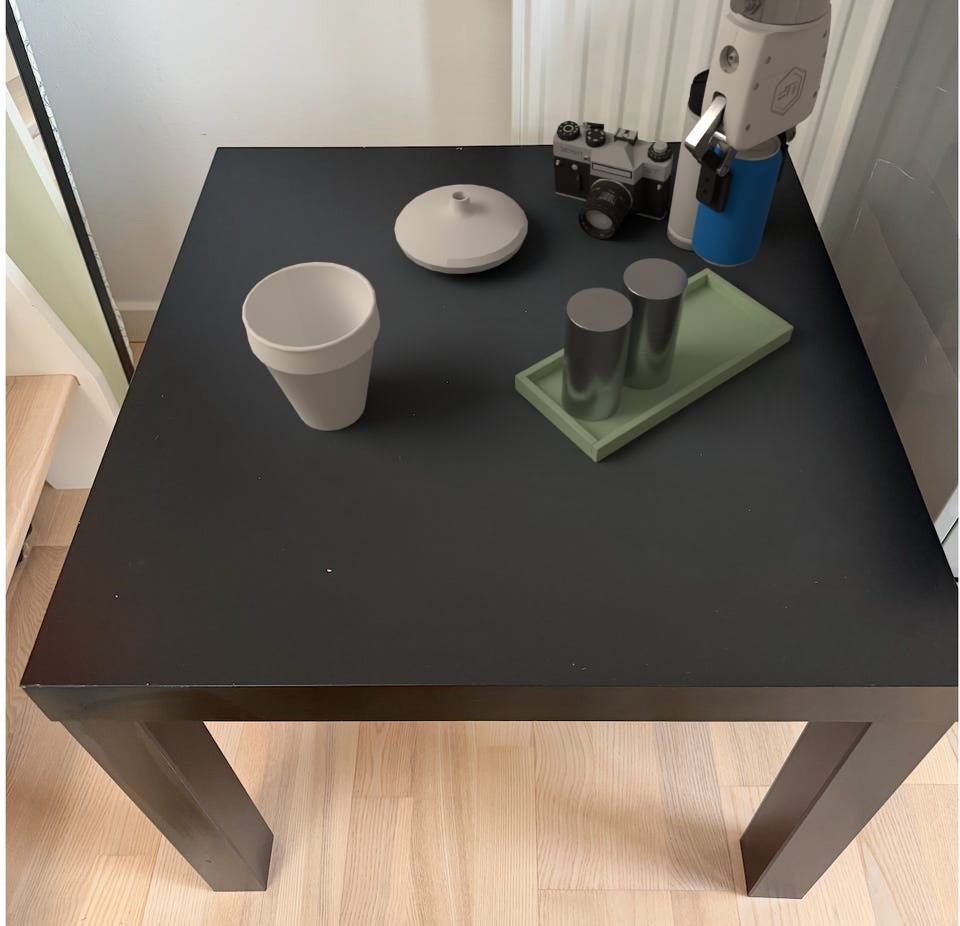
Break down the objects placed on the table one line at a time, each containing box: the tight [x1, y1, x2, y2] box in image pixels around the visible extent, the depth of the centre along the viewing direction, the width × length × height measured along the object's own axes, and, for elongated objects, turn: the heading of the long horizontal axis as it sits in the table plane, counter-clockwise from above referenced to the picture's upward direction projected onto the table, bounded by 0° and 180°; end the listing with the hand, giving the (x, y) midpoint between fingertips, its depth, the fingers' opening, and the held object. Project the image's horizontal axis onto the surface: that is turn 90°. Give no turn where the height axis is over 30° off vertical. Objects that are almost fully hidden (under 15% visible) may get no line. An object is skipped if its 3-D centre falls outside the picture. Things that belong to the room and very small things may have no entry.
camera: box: [552, 120, 674, 240], centre depth 109 cm, size 15×11×10 cm
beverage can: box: [692, 129, 782, 268], centre depth 85 cm, size 6×6×12 cm
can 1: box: [561, 287, 633, 421], centre depth 87 cm, size 6×6×12 cm
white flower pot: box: [241, 261, 381, 432], centre depth 88 cm, size 12×12×14 cm
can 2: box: [620, 257, 689, 390], centre depth 90 cm, size 6×6×12 cm
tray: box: [514, 267, 795, 464], centre depth 95 cm, size 13×28×2 cm, turn 127°
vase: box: [393, 184, 529, 275], centre depth 106 cm, size 16×16×7 cm
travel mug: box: [666, 68, 724, 252], centre depth 101 cm, size 6×7×20 cm
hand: (737, 189), depth 84 cm, fingers closed on beverage can, 6 cm apart
